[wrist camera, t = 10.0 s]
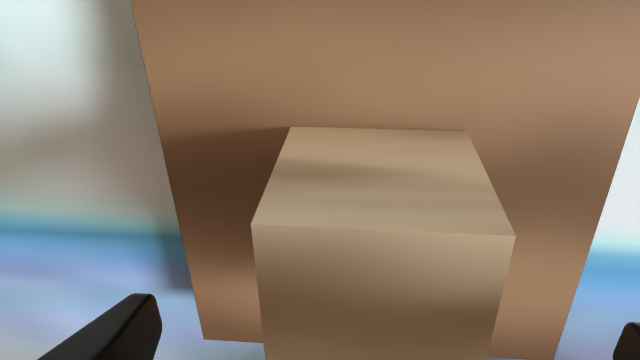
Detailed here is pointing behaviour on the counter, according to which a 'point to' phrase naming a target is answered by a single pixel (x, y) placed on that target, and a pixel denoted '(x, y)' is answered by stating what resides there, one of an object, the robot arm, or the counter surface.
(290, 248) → the maple cube
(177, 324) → the counter surface
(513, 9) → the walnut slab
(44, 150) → the counter surface
